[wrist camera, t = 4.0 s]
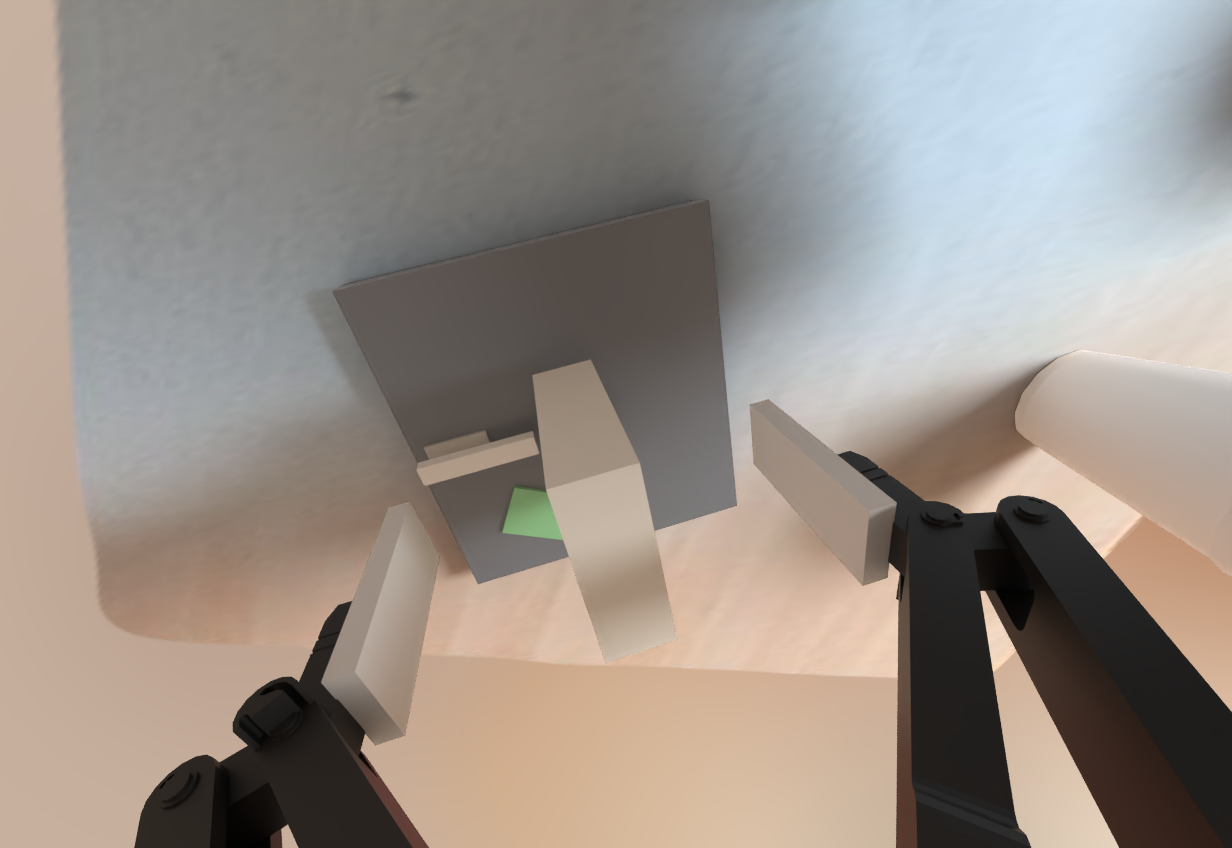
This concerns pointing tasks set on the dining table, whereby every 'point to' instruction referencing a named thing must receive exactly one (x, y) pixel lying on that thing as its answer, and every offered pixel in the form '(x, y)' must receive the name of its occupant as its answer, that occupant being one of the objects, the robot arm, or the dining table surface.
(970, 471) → the dining table surface
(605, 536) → the cream angular block
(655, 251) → the base
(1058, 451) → the foam cup
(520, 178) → the dining table surface
